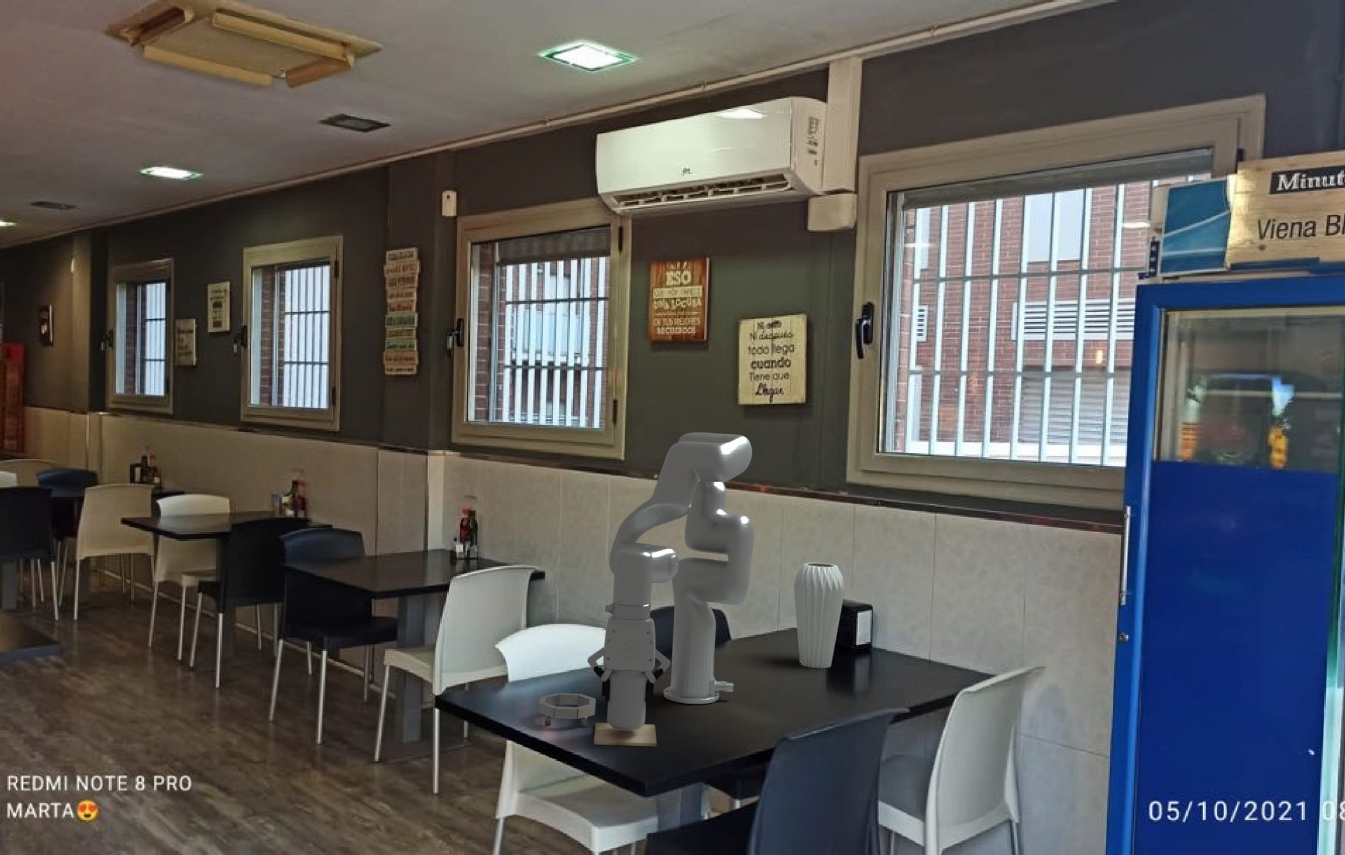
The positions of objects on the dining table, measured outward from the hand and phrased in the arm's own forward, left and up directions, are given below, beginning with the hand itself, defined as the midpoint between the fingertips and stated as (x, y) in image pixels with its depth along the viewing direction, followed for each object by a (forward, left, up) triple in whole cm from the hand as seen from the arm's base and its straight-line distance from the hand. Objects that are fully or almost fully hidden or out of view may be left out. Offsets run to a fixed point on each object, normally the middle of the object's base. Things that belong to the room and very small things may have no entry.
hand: (627, 700), depth 207 cm
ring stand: (+12, -9, -7) cm, 17 cm away
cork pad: (0, 0, -7) cm, 7 cm away
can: (0, 0, -5) cm, 5 cm away
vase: (-50, -66, -7) cm, 83 cm away
